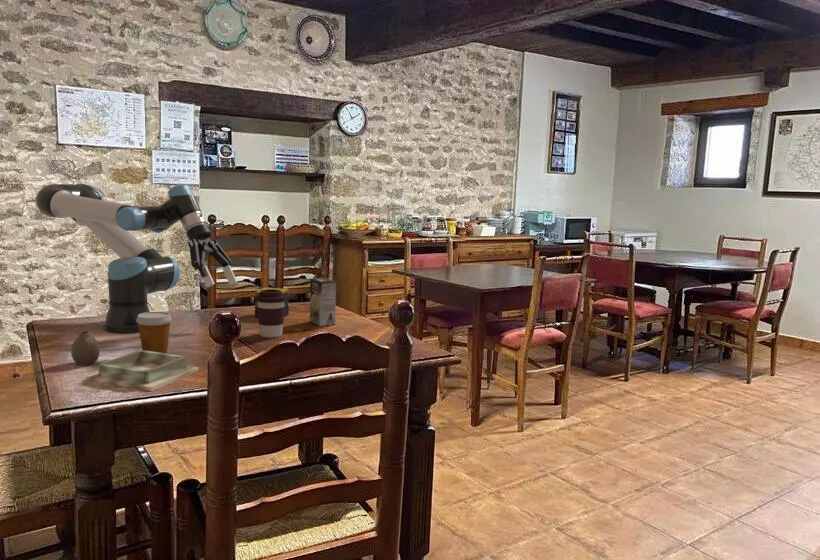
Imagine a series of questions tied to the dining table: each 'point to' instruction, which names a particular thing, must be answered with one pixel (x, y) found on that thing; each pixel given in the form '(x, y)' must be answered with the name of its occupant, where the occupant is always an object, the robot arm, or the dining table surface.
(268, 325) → the coffee cup
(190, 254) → the robot arm
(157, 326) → the disposable coffee cup
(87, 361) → the vase
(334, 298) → the coffee box
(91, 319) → the dining table surface
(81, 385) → the dining table surface
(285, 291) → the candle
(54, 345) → the dining table surface
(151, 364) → the tray
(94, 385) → the dining table surface
